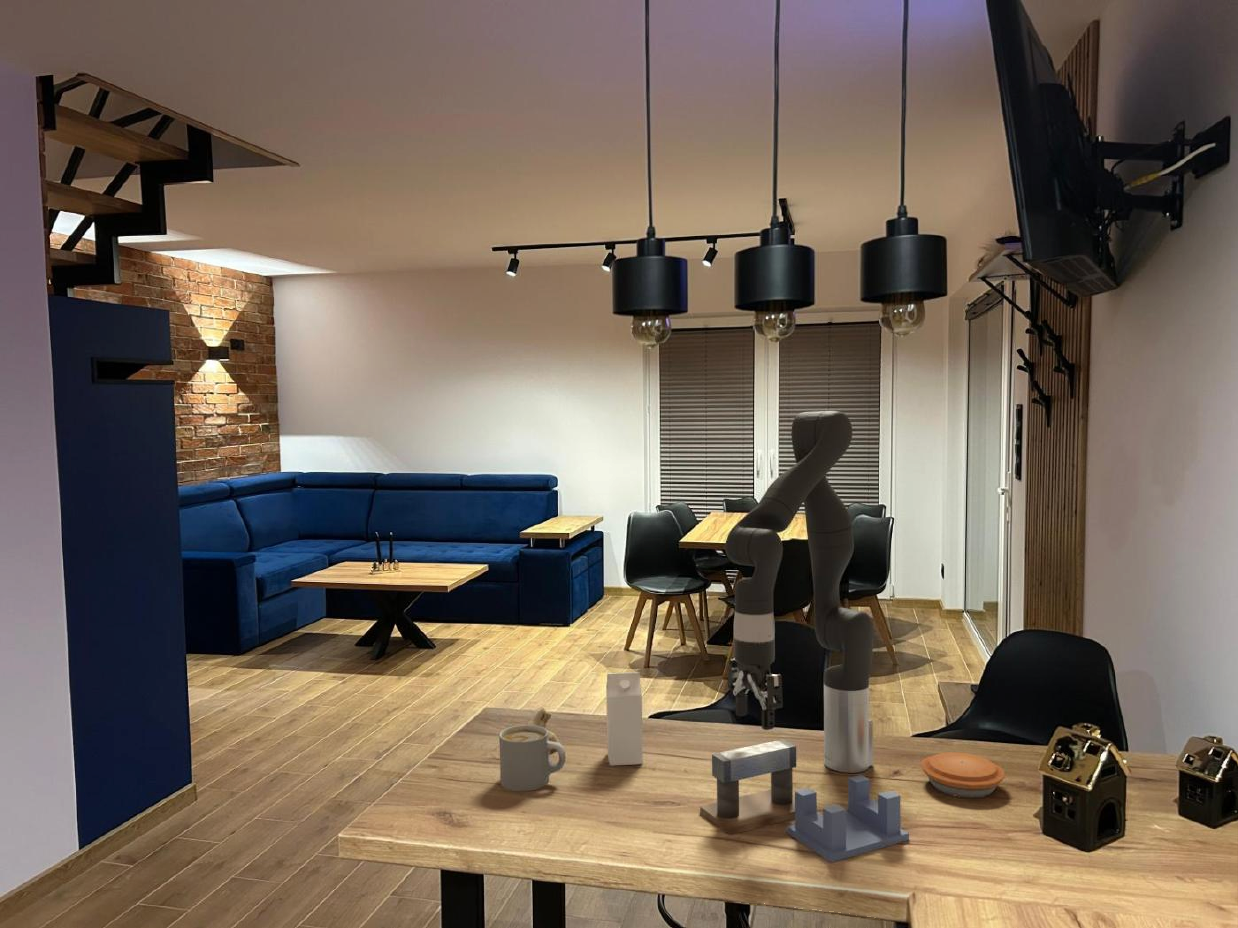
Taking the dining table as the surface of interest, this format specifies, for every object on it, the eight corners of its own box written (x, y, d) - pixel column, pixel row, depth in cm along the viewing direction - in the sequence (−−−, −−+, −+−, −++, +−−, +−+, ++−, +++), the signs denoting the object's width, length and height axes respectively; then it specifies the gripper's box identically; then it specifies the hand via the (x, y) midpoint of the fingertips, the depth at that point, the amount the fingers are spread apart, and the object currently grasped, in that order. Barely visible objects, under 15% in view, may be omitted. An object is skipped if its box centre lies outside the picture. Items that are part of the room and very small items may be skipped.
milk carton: (607, 753, 194) (605, 668, 193) (639, 752, 195) (638, 667, 194) (609, 766, 187) (608, 678, 186) (642, 764, 187) (641, 676, 187)
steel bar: (783, 759, 168) (783, 739, 168) (796, 766, 165) (796, 745, 164) (712, 775, 161) (711, 754, 161) (723, 783, 158) (723, 761, 158)
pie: (981, 811, 163) (981, 784, 163) (906, 785, 175) (906, 761, 174) (1018, 787, 173) (1019, 762, 173) (945, 764, 185) (945, 741, 185)
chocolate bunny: (525, 747, 199) (524, 703, 198) (560, 745, 200) (559, 702, 199) (525, 756, 193) (524, 711, 193) (561, 754, 194) (560, 709, 194)
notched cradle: (861, 812, 163) (861, 771, 163) (909, 839, 152) (909, 796, 152) (787, 832, 156) (786, 789, 155) (831, 862, 145) (830, 816, 144)
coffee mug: (491, 787, 177) (490, 738, 176) (513, 768, 186) (512, 722, 186) (552, 796, 172) (551, 746, 172) (572, 776, 182) (571, 729, 181)
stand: (779, 793, 172) (778, 753, 172) (811, 813, 163) (811, 771, 163) (700, 812, 164) (699, 770, 164) (729, 834, 155) (728, 790, 155)
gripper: (794, 641, 157) (794, 730, 158) (749, 625, 170) (749, 708, 171) (759, 646, 154) (759, 737, 155) (716, 629, 167) (716, 713, 167)
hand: (754, 721), depth 163 cm, fingers open, 8 cm apart
